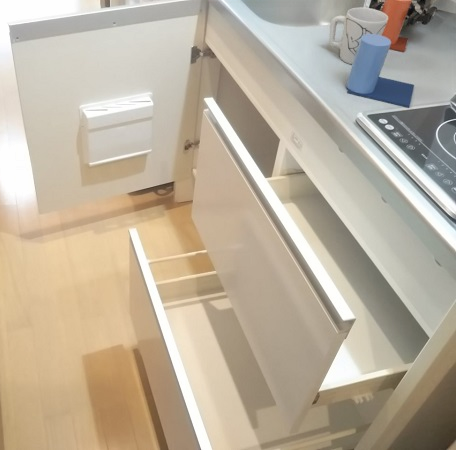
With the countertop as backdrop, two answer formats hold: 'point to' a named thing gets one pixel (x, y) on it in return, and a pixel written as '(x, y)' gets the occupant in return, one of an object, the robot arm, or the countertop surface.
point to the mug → (356, 29)
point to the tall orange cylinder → (395, 17)
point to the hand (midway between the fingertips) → (390, 16)
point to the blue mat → (390, 92)
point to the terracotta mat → (399, 44)
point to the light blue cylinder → (368, 63)
